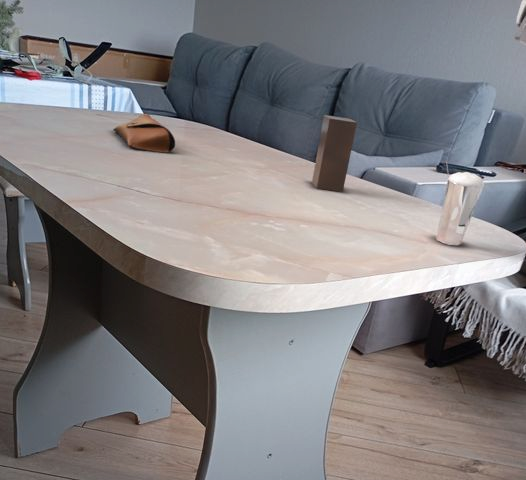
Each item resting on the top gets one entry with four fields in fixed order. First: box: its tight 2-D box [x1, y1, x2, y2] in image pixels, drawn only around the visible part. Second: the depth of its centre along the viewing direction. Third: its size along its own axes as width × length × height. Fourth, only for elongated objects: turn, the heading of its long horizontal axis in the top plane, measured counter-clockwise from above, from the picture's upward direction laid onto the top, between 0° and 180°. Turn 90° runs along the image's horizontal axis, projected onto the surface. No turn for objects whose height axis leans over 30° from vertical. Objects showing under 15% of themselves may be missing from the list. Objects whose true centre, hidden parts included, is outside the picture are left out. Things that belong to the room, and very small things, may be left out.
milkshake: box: [435, 160, 485, 247], centre depth 80 cm, size 4×5×10 cm
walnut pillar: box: [311, 114, 358, 193], centre depth 101 cm, size 4×4×11 cm
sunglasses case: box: [112, 113, 176, 154], centre depth 115 cm, size 18×7×7 cm
